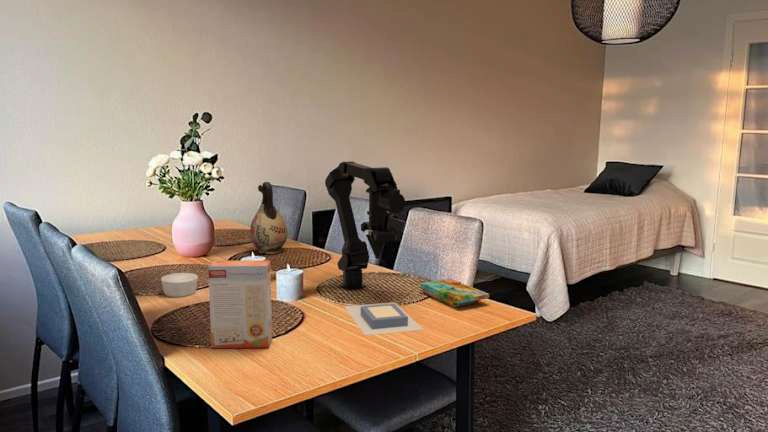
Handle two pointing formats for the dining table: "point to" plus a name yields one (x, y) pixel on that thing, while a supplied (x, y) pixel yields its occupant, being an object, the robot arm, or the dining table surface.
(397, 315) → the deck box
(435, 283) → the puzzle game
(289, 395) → the dining table surface
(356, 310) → the mat
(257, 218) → the ceramic jug
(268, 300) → the cracker box
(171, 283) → the ramekin
